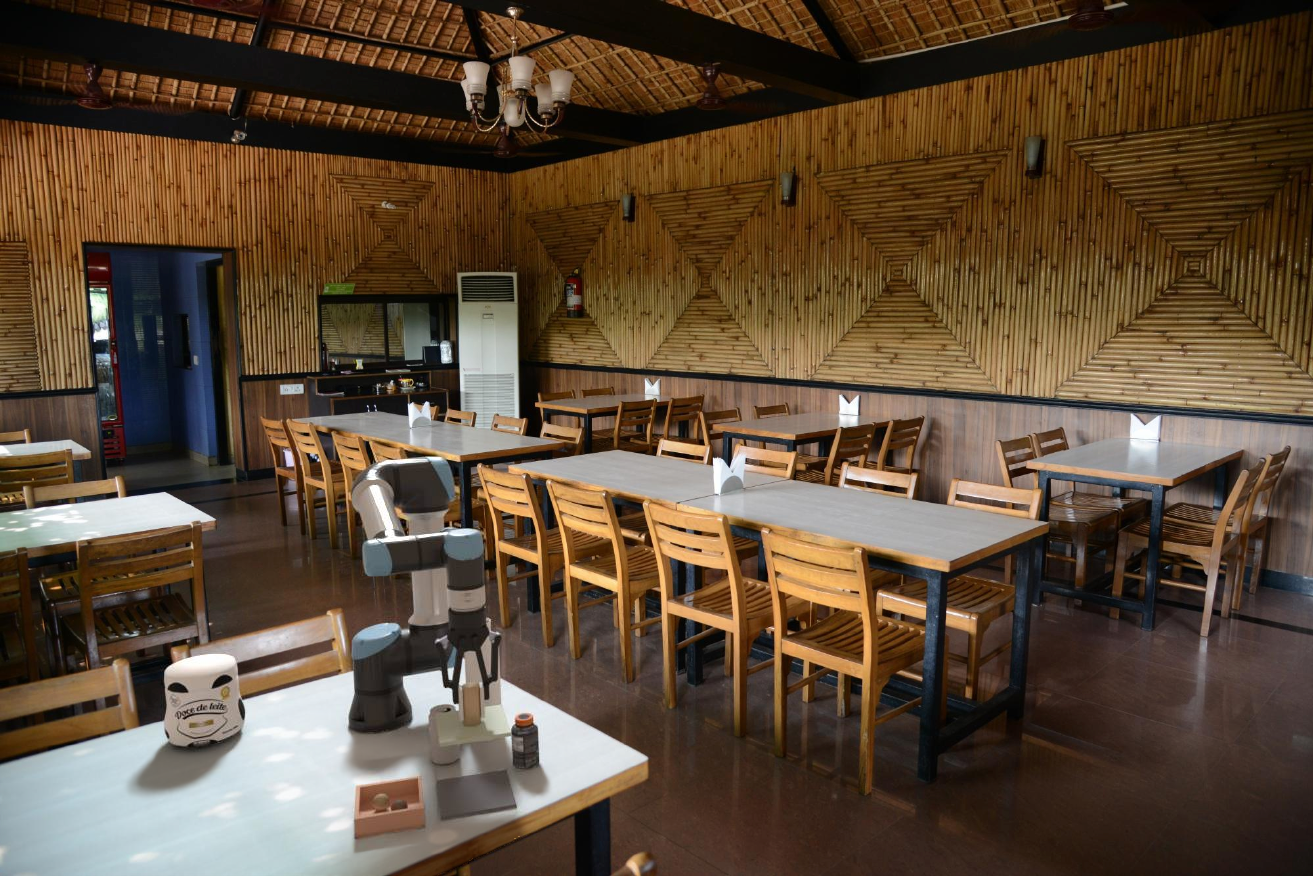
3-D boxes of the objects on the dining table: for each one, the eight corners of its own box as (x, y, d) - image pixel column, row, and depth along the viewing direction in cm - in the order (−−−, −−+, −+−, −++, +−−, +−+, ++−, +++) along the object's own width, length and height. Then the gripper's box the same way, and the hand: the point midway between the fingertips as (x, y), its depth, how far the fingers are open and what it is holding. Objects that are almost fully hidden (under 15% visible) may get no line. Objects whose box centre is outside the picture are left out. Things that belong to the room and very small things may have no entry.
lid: (435, 717, 187) (433, 677, 186) (502, 707, 191) (500, 668, 190) (439, 746, 173) (437, 704, 172) (511, 736, 177) (509, 694, 176)
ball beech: (373, 806, 179) (372, 792, 179) (389, 804, 180) (388, 789, 180) (373, 815, 176) (372, 800, 176) (389, 812, 177) (388, 797, 177)
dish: (357, 804, 181) (356, 786, 181) (422, 793, 185) (421, 775, 184) (355, 839, 169) (353, 819, 168) (425, 827, 173) (424, 807, 172)
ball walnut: (391, 812, 177) (390, 797, 176) (407, 810, 178) (407, 795, 177) (391, 821, 174) (390, 806, 173) (408, 818, 175) (407, 803, 174)
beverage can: (452, 767, 196) (450, 716, 194) (425, 765, 197) (423, 714, 195) (464, 754, 202) (462, 704, 200) (438, 751, 203) (435, 702, 202)
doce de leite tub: (192, 761, 201) (186, 685, 198) (150, 743, 210) (143, 670, 207) (261, 731, 215) (256, 660, 213) (219, 715, 224) (213, 647, 222)
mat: (436, 783, 189) (436, 780, 189) (506, 771, 193) (506, 769, 193) (440, 820, 175) (440, 817, 175) (516, 807, 179) (516, 804, 179)
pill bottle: (538, 756, 200) (536, 708, 199) (540, 769, 194) (539, 720, 193) (511, 759, 199) (509, 711, 197) (513, 772, 193) (511, 723, 192)
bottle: (508, 735, 211) (503, 622, 207) (476, 744, 206) (471, 629, 203) (494, 723, 217) (489, 613, 214) (462, 732, 213) (457, 619, 209)
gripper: (425, 616, 173) (431, 730, 176) (510, 607, 178) (515, 718, 181) (423, 605, 180) (429, 714, 183) (505, 596, 185) (510, 703, 188)
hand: (471, 716), depth 182 cm, fingers closed on lid, 4 cm apart
